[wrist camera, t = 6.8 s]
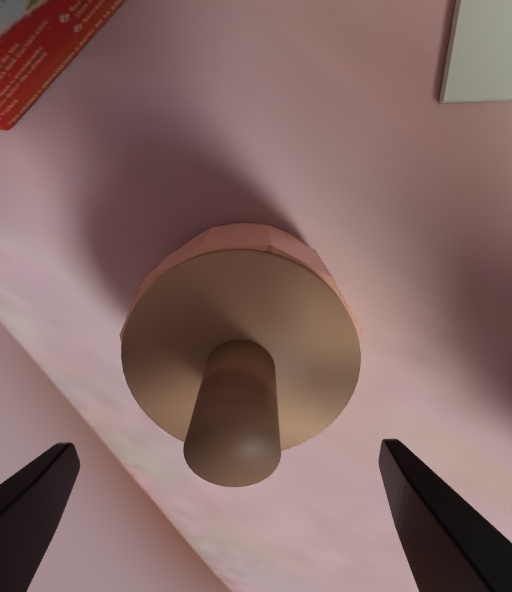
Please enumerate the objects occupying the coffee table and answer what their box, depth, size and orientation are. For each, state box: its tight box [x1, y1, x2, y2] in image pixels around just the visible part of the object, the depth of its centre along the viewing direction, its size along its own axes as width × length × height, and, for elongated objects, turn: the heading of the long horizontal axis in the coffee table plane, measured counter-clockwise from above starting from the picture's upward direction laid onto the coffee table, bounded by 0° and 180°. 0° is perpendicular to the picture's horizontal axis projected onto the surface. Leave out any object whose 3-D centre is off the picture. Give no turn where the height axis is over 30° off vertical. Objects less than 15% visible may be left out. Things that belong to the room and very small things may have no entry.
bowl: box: [120, 222, 362, 344], centre depth 16 cm, size 10×10×5 cm
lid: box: [121, 248, 361, 487], centre depth 11 cm, size 10×10×5 cm
